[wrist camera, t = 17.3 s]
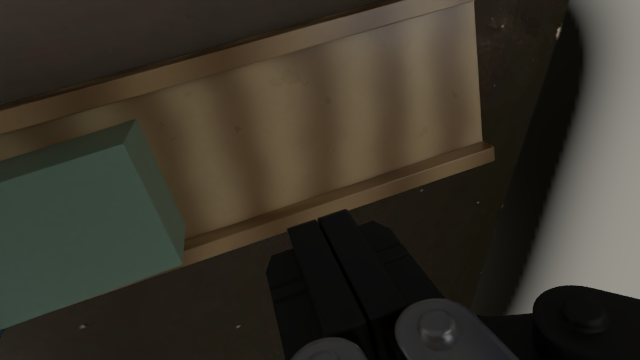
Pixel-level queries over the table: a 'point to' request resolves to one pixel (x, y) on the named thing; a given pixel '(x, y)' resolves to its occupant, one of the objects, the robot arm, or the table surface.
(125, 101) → the tray
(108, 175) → the green rectangular block
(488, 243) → the table surface
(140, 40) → the table surface
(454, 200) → the table surface
